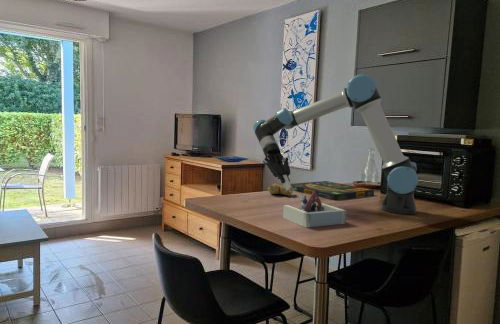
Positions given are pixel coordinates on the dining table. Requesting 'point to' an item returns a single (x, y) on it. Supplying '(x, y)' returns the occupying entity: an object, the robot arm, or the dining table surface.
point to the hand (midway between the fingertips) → (288, 188)
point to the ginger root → (280, 190)
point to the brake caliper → (311, 203)
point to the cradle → (315, 216)
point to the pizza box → (332, 190)
